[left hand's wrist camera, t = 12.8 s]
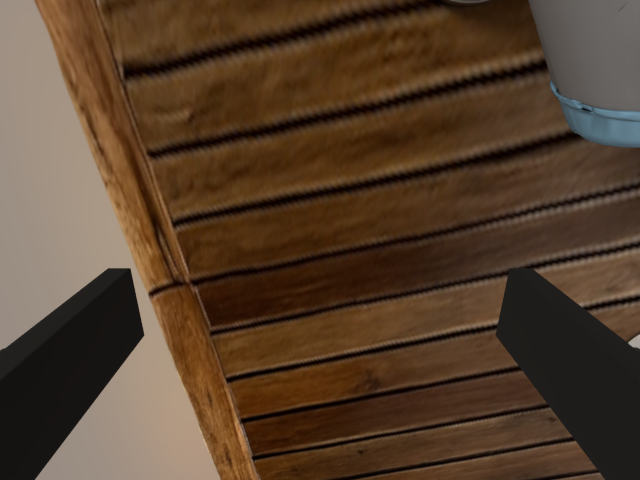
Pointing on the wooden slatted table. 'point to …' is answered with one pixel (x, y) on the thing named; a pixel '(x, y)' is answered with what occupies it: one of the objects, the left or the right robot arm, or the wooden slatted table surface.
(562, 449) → the wooden slatted table surface
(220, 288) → the wooden slatted table surface
